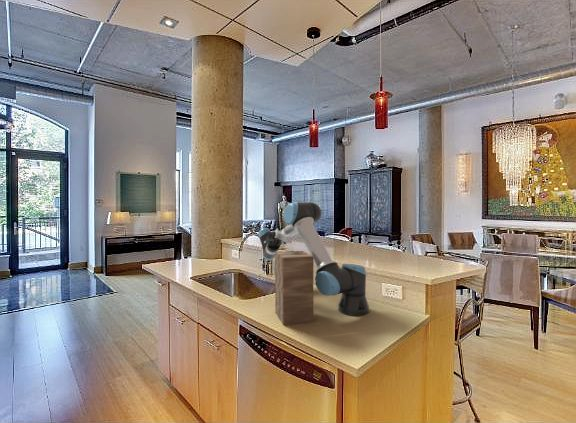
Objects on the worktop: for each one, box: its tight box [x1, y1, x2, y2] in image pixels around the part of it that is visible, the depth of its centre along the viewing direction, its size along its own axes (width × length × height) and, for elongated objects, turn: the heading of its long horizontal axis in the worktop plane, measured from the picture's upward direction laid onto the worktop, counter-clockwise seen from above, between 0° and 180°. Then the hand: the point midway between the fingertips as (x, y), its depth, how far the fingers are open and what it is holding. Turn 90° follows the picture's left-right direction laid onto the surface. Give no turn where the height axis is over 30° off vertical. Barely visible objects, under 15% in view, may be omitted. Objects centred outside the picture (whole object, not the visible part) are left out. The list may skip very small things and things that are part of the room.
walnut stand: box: [274, 250, 314, 326], centre depth 150 cm, size 16×14×30 cm
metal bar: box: [273, 230, 293, 244], centre depth 167 cm, size 26×3×3 cm, turn 15°
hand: (280, 230), depth 171 cm, fingers closed on metal bar, 3 cm apart
